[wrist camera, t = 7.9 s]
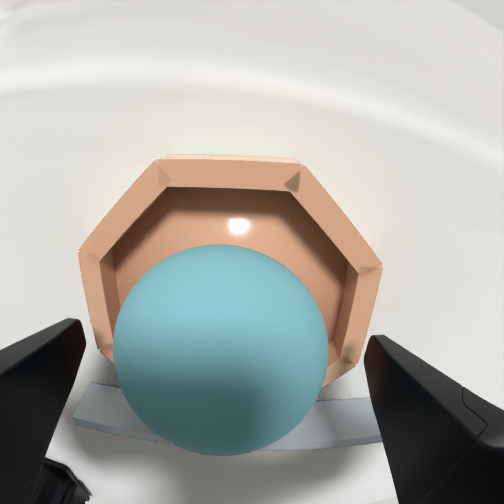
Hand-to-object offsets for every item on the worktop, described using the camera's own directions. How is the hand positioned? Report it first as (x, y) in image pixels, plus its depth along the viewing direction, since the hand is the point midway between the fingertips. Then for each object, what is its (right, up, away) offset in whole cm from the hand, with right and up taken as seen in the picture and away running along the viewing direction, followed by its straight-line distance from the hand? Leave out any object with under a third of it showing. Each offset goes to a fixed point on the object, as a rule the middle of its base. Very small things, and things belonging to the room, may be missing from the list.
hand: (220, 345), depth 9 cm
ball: (0, 0, 0) cm, 0 cm away
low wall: (+2, -5, +5) cm, 7 cm away
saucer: (0, +1, +3) cm, 3 cm away
